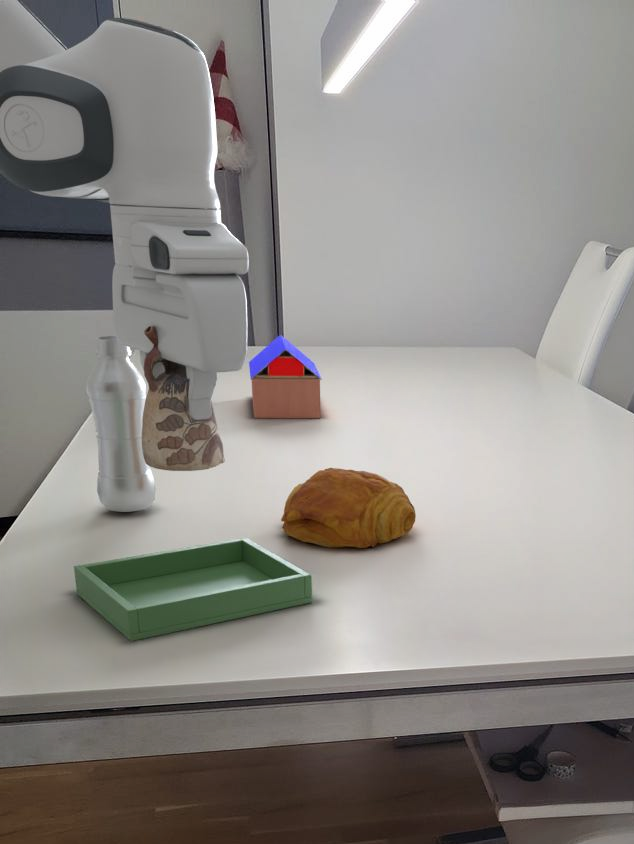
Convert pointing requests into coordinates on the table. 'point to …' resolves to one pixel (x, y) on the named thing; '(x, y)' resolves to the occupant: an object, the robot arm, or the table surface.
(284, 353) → the house
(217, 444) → the figurine
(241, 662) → the table surface
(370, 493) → the croissant
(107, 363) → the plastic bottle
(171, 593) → the green tray
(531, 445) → the table surface
